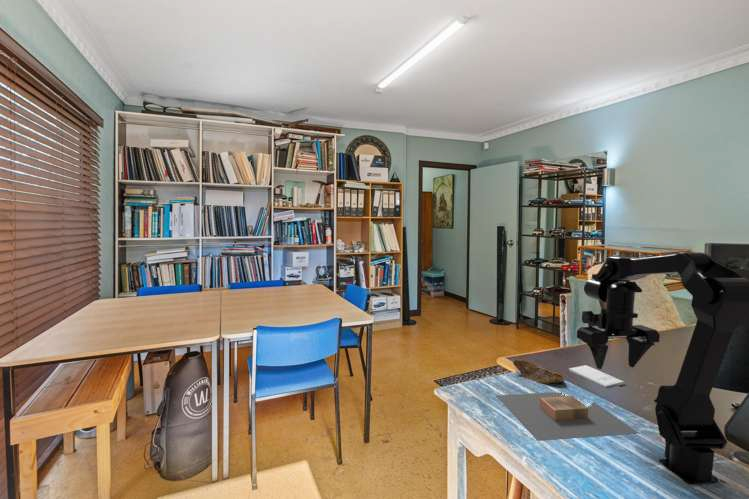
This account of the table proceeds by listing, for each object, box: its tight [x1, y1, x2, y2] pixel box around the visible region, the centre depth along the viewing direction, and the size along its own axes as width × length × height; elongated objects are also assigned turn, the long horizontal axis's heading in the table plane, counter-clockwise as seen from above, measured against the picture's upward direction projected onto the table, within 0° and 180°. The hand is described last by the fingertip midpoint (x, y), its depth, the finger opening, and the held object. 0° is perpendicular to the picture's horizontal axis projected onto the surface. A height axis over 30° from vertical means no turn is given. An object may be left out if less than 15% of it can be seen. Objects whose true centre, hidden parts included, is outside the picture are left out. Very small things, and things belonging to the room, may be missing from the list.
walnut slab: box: [540, 396, 589, 420], centre depth 89 cm, size 6×2×9 cm
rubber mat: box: [494, 391, 639, 442], centre depth 90 cm, size 20×25×1 cm
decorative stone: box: [512, 358, 566, 385], centre depth 110 cm, size 10×4×15 cm
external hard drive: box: [568, 364, 625, 388], centre depth 111 cm, size 2×8×12 cm
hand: (615, 367), depth 89 cm, fingers open, 9 cm apart
